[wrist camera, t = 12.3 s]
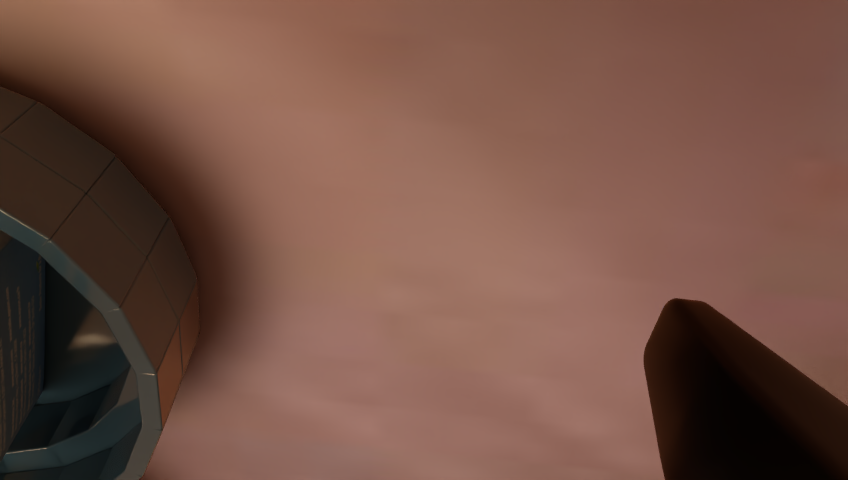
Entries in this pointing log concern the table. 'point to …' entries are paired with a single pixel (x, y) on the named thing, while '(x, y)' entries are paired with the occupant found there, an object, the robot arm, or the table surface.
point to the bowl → (94, 300)
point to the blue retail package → (20, 335)
